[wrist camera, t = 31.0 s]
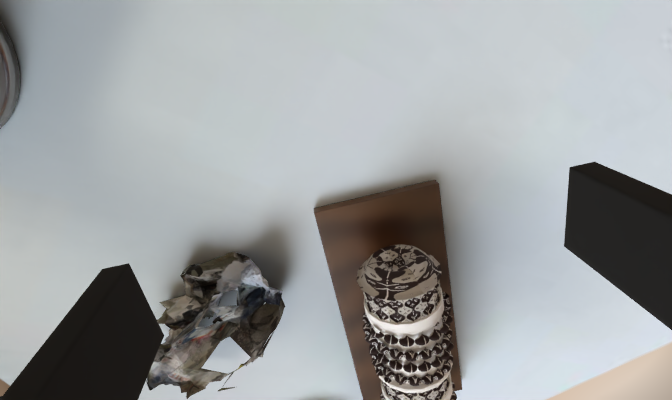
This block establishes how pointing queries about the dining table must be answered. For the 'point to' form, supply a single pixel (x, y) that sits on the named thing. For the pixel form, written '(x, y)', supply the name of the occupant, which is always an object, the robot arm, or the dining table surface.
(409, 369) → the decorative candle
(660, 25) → the dining table surface
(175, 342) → the foil
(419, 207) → the walnut board
